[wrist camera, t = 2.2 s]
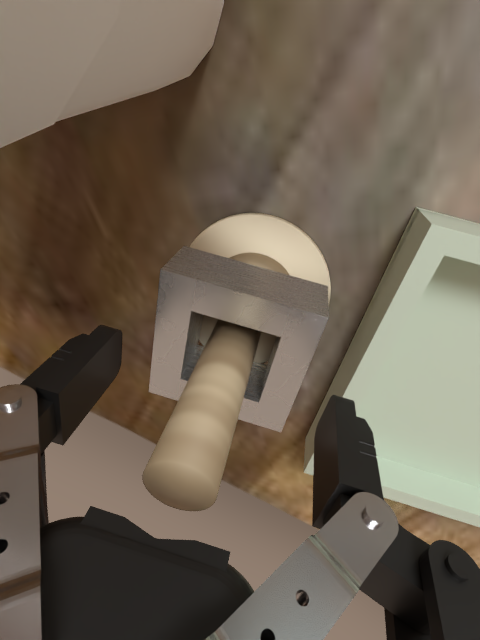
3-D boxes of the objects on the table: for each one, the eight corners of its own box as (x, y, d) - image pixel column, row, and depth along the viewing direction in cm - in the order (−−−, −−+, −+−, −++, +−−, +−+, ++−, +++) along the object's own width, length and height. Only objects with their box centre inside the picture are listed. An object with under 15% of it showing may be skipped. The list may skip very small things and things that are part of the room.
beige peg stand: (193, 193, 17) (14, 317, 7) (354, 237, 17) (401, 433, 7) (175, 326, 22) (47, 519, 12) (303, 364, 21) (286, 598, 11)
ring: (184, 245, 14) (160, 269, 12) (327, 285, 14) (328, 317, 12) (169, 357, 18) (148, 391, 16) (285, 392, 17) (281, 432, 15)
